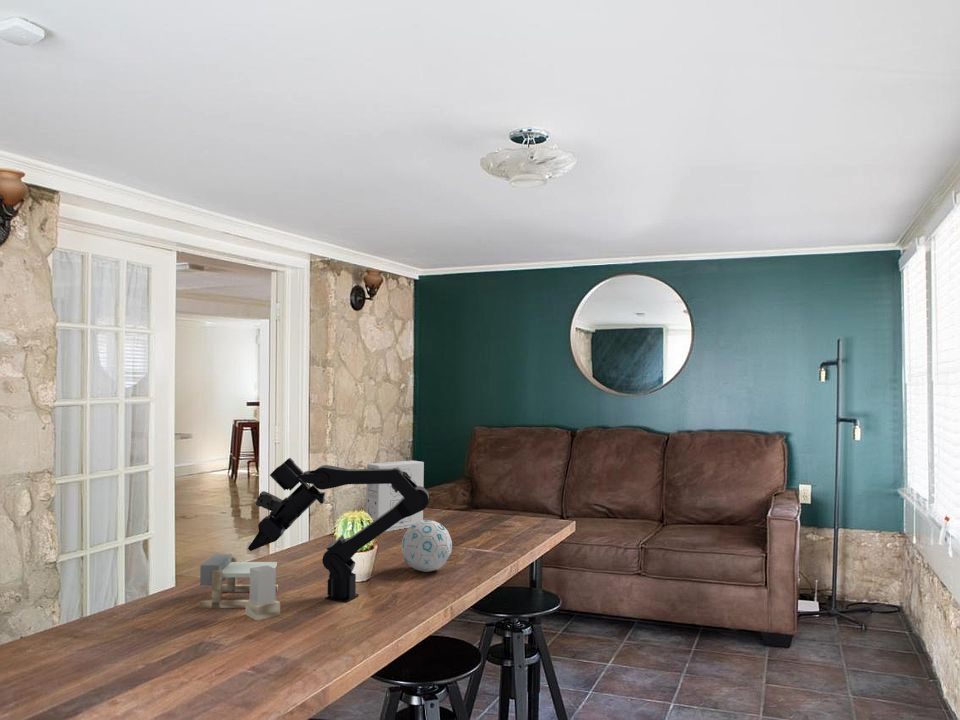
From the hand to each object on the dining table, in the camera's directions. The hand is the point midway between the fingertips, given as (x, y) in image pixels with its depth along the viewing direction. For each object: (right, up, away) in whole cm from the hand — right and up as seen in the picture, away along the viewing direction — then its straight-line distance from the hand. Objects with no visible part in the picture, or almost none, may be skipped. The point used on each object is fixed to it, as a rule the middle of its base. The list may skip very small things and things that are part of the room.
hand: (253, 545), depth 200 cm
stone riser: (+6, -13, -14) cm, 20 cm away
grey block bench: (-3, -14, 0) cm, 14 cm away
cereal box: (+26, -17, +95) cm, 100 cm away
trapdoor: (-3, -9, 0) cm, 9 cm away
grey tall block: (+6, -10, -14) cm, 18 cm away
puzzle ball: (+43, -15, +31) cm, 55 cm away
